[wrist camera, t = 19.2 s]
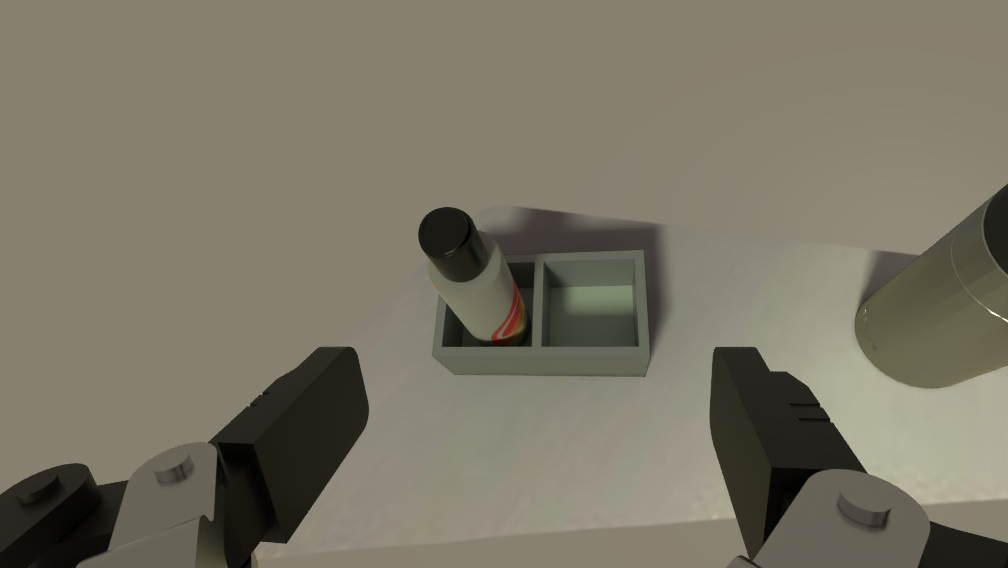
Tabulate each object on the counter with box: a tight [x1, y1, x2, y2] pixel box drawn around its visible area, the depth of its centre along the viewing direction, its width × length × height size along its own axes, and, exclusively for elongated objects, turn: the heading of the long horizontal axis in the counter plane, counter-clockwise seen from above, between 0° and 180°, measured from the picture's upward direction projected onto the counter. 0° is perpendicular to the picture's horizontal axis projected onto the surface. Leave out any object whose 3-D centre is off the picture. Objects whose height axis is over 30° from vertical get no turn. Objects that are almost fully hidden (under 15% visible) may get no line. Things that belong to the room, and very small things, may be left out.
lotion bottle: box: [418, 207, 531, 347], centre depth 41 cm, size 6×6×20 cm
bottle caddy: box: [432, 250, 650, 377], centre depth 47 cm, size 18×10×7 cm, turn 87°
